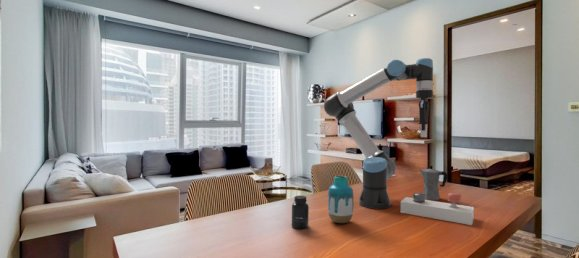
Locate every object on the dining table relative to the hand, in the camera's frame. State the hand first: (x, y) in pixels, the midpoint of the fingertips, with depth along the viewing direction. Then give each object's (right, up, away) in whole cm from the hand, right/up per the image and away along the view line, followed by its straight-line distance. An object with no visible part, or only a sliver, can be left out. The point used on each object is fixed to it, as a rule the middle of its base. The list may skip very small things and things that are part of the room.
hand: (423, 137), depth 142 cm
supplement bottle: (-63, -35, -28) cm, 78 cm away
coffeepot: (+11, -34, +13) cm, 38 cm away
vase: (-46, -35, -24) cm, 63 cm away
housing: (-2, -35, -15) cm, 38 cm away
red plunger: (+4, -32, -19) cm, 38 cm away
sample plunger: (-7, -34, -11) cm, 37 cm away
